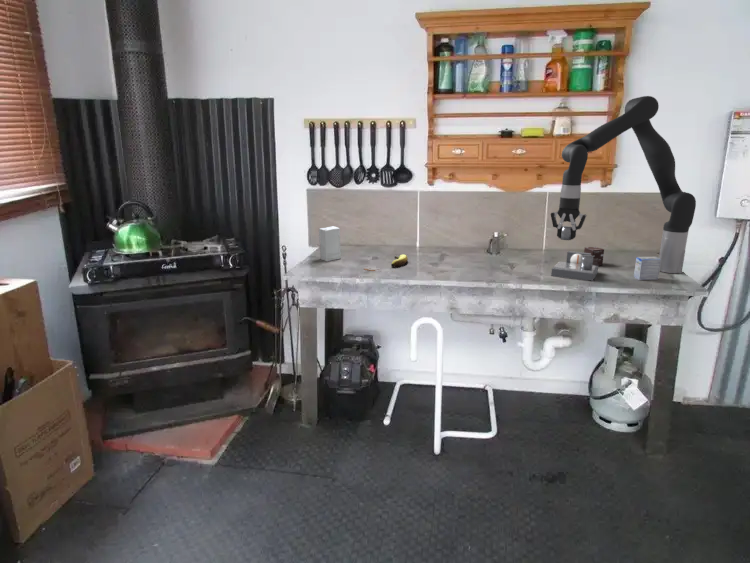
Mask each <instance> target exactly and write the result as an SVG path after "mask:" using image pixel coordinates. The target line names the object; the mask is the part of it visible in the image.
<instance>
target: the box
mask: <svg viewBox="0 0 750 563" xmlns="http://www.w3.org/2000/svg"><path fill="white" fill-rule="evenodd" d="M583 250H584V251H583V253H591V255H592V256H593V265H595V266H598V267H599V266H603V263H604V254H605V248H601V247H597V246H585V247H584V248H583Z"/></svg>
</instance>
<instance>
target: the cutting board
mask: <svg viewBox="0 0 750 563" xmlns="http://www.w3.org/2000/svg"><path fill="white" fill-rule="evenodd" d="M394 258H395V259H394V260H393V261H392V262H391V264H390V265H391V266H390V267H391V268H392V267H393V268H400V267H402V266H405V264H406V263H407V262H408V260H409V258H408V256H407V255H406V254H400V255H399V256H394ZM423 259H424V260H426V258H425V257H423ZM363 270H365V271H368V272H369V271H371V272H376V271H377V270H378V271H380V268H379V269H371V268H363ZM392 272H394V271H392Z"/></svg>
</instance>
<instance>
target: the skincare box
mask: <svg viewBox="0 0 750 563" xmlns="http://www.w3.org/2000/svg"><path fill="white" fill-rule="evenodd" d="M318 236H319V240H318V241H319V257H320V258H319V259H320V260H322V261H324V262H331V261H335V260H340V259H341V258H342V257H341V256H342V254H341V252H342V251H341V250H342V249H341V228H340V227H337V226H335V225H332V226H327V227H320V228H318Z"/></svg>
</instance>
